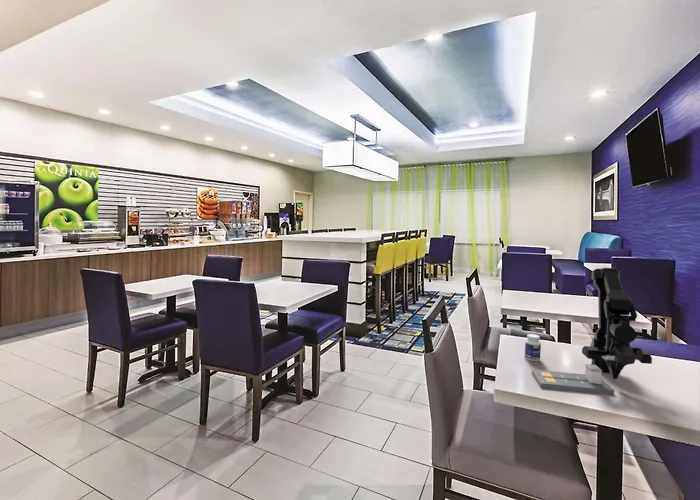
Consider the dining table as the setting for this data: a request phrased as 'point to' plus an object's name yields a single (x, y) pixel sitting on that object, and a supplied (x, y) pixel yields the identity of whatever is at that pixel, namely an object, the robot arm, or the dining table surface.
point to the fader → (593, 373)
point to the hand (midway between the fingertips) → (614, 379)
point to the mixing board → (570, 382)
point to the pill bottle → (532, 347)
